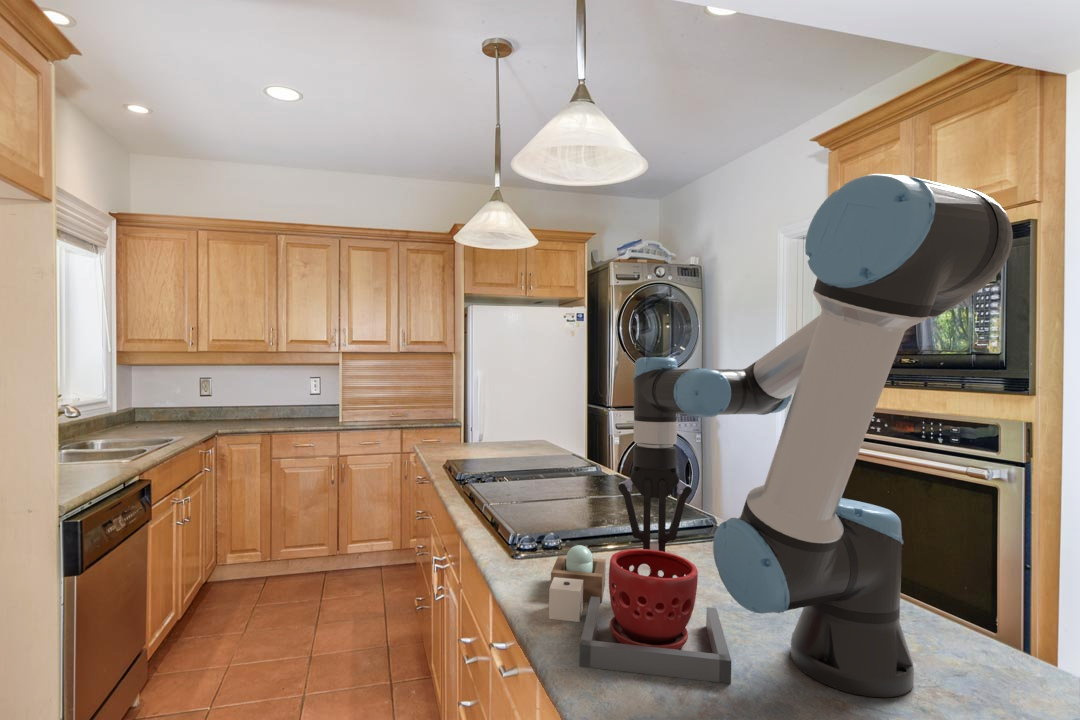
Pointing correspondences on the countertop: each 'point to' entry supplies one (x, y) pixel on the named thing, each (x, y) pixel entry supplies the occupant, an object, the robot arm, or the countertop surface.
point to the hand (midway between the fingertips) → (653, 578)
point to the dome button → (579, 559)
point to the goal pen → (657, 653)
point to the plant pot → (651, 598)
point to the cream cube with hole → (566, 599)
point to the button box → (584, 577)
